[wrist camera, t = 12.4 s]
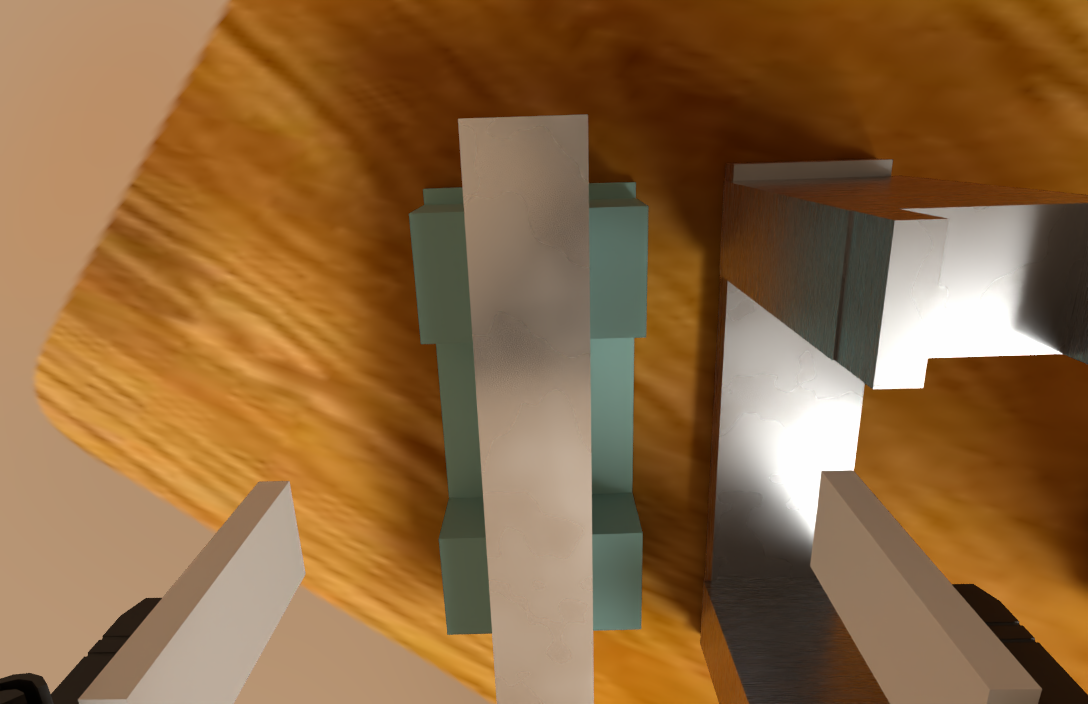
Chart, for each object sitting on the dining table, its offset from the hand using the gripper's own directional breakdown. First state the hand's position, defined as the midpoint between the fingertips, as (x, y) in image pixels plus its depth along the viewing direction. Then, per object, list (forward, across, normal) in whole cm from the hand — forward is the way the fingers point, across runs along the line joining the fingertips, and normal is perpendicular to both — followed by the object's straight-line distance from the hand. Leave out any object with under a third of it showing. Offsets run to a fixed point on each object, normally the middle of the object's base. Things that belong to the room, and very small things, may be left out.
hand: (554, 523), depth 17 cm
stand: (+8, +8, -2) cm, 12 cm away
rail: (+5, 0, 0) cm, 5 cm away
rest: (+8, -1, 0) cm, 8 cm away
